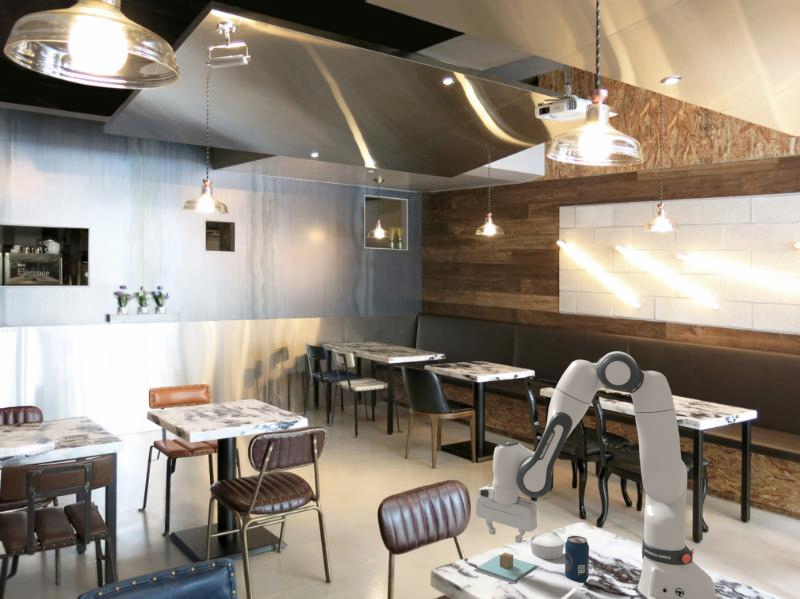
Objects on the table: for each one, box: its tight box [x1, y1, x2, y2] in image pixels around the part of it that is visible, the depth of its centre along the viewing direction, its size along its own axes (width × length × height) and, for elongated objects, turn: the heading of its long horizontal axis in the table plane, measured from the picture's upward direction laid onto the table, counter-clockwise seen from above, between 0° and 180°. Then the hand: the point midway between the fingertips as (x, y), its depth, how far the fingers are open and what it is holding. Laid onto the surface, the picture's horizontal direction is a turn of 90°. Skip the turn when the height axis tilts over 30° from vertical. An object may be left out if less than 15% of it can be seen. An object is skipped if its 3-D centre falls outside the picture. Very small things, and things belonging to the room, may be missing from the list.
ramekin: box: [529, 533, 566, 560], centre depth 212 cm, size 11×11×5 cm
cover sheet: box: [476, 552, 536, 581], centre depth 200 cm, size 13×13×4 cm
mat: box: [473, 553, 540, 585], centre depth 200 cm, size 14×16×1 cm
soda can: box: [564, 535, 590, 584], centre depth 195 cm, size 7×7×12 cm
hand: (505, 538), depth 200 cm, fingers open, 8 cm apart
